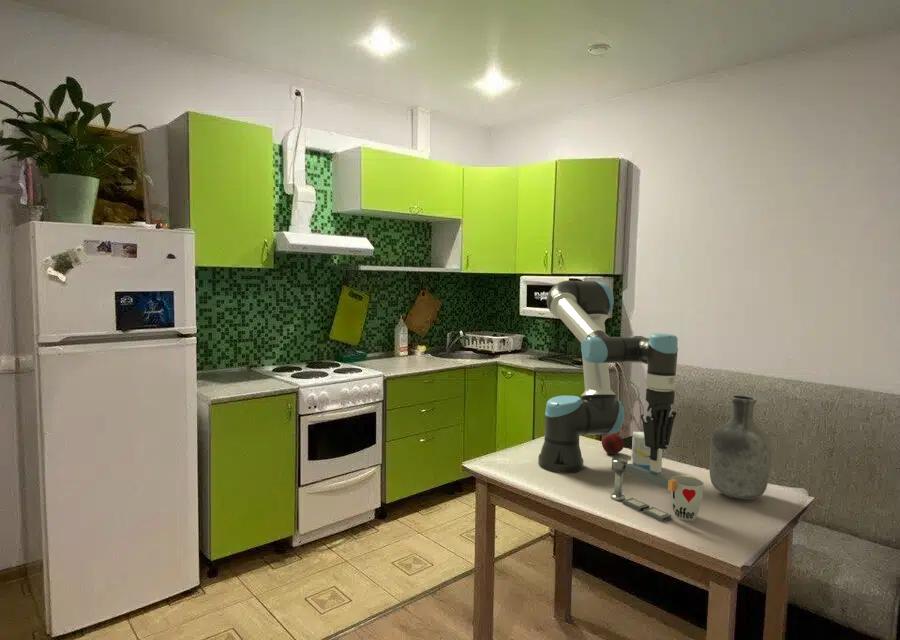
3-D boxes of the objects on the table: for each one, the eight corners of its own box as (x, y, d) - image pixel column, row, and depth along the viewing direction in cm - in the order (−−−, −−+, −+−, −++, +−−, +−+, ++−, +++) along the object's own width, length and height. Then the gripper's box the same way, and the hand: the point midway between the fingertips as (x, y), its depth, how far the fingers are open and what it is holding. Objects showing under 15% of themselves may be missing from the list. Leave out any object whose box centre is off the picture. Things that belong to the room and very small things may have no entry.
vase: (769, 494, 167) (777, 397, 165) (764, 511, 154) (773, 406, 151) (712, 481, 176) (718, 389, 174) (703, 497, 163) (709, 397, 160)
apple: (609, 449, 206) (610, 428, 206) (627, 455, 200) (629, 433, 200) (597, 453, 202) (598, 431, 201) (616, 458, 196) (617, 437, 195)
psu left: (622, 503, 156) (622, 500, 156) (632, 501, 158) (632, 497, 158) (640, 511, 151) (640, 508, 151) (649, 509, 153) (649, 505, 153)
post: (607, 497, 161) (609, 469, 160) (616, 494, 163) (618, 467, 162) (618, 502, 157) (620, 473, 157) (627, 499, 160) (629, 471, 159)
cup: (663, 516, 149) (666, 480, 148) (676, 507, 155) (678, 473, 154) (694, 526, 143) (696, 489, 142) (706, 517, 149) (708, 481, 148)
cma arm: (608, 468, 160) (608, 459, 160) (618, 466, 162) (618, 456, 162) (668, 492, 143) (669, 482, 143) (679, 489, 145) (680, 479, 145)
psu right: (643, 513, 150) (643, 509, 150) (652, 510, 152) (652, 506, 152) (661, 521, 145) (662, 517, 145) (671, 518, 147) (671, 514, 147)
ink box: (661, 474, 182) (663, 439, 181) (634, 471, 183) (636, 437, 182) (656, 465, 190) (658, 432, 189) (630, 463, 192) (632, 430, 191)
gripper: (657, 393, 147) (651, 479, 149) (686, 389, 154) (681, 471, 156) (634, 388, 153) (629, 470, 155) (663, 384, 160) (658, 463, 162)
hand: (655, 470), depth 156 cm, fingers closed
